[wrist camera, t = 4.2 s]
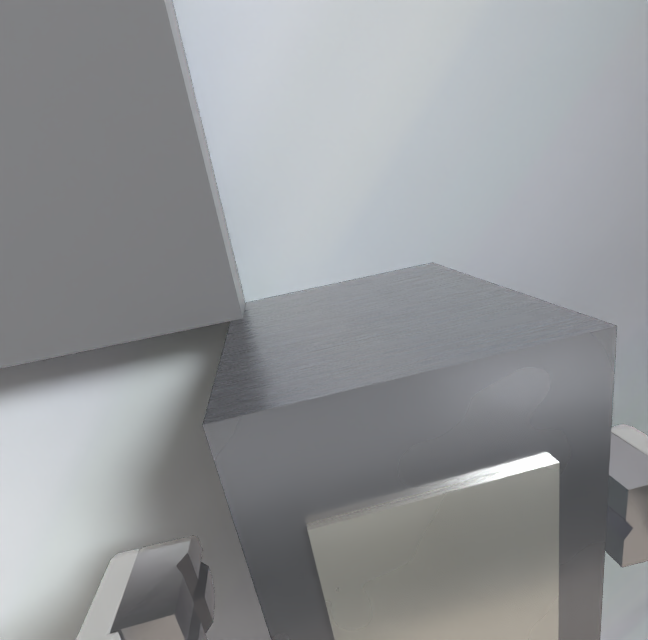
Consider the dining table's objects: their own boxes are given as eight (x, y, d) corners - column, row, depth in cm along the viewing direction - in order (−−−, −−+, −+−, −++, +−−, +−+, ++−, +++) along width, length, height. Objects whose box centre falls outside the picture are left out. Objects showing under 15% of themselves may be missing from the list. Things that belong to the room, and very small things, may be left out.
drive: (429, 261, 9) (625, 328, 4) (458, 555, 12) (596, 802, 7) (235, 303, 9) (201, 430, 4) (312, 597, 11) (350, 890, 6)
